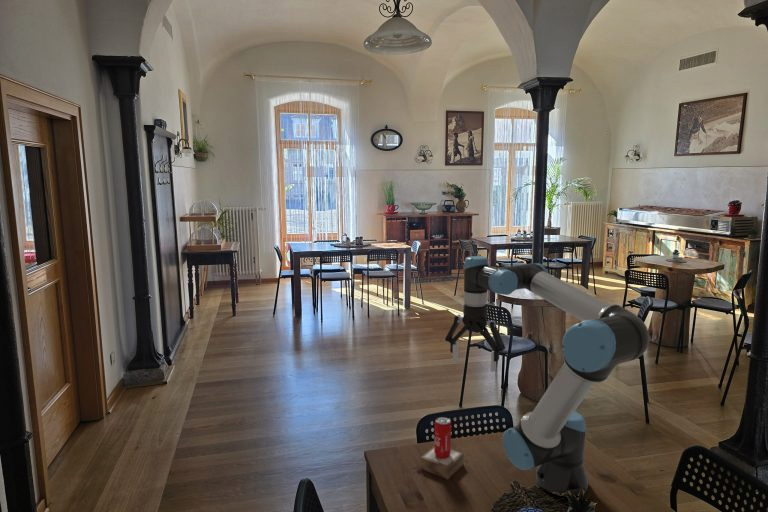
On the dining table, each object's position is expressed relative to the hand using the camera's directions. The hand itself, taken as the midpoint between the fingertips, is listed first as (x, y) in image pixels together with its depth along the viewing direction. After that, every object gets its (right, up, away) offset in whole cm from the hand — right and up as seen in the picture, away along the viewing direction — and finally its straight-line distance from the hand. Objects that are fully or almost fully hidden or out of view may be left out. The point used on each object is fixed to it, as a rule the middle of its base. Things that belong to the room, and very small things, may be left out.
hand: (473, 366), depth 170 cm
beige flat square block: (-11, -32, -4) cm, 34 cm away
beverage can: (-11, -28, -4) cm, 30 cm away
